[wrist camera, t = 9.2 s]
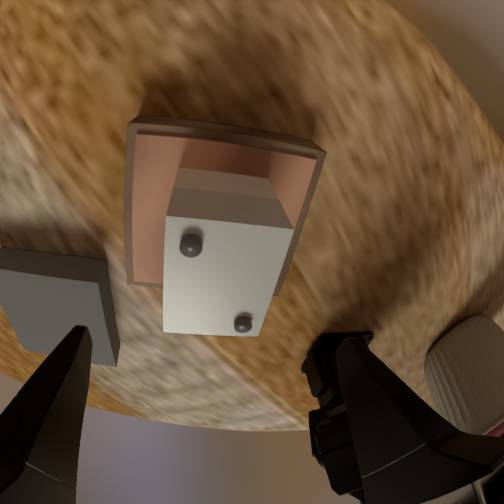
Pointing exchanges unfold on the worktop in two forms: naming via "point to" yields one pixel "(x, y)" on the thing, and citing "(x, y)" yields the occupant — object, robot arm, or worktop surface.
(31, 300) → the slate stand
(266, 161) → the brown square tray
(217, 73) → the worktop surface
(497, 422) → the canister
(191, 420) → the worktop surface
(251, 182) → the two-plate housing
